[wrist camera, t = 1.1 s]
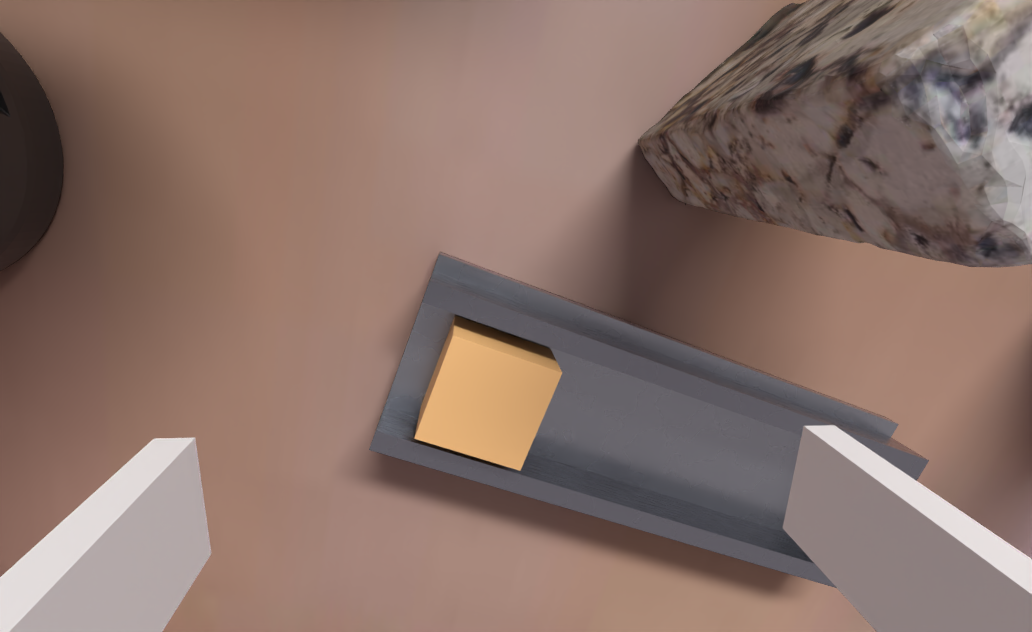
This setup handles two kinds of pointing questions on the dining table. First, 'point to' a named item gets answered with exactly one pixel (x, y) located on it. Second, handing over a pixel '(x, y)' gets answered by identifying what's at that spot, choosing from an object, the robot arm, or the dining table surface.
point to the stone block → (869, 128)
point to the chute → (634, 422)
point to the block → (487, 394)
